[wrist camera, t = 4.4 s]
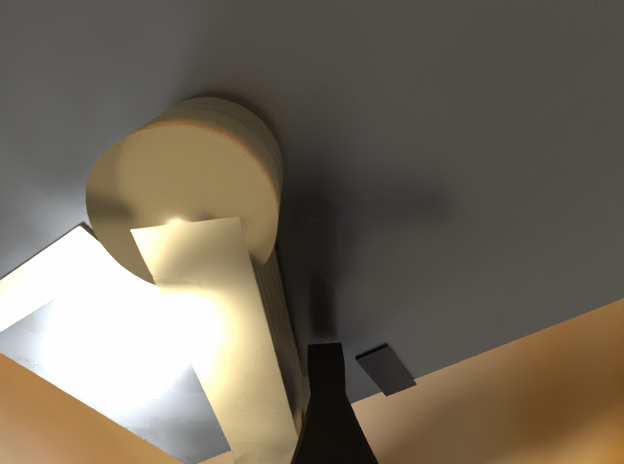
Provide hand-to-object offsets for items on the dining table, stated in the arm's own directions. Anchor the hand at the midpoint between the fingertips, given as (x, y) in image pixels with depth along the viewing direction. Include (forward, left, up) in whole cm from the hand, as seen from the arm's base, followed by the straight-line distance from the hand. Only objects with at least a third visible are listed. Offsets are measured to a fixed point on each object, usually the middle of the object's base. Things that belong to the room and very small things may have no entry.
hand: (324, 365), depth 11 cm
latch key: (0, +3, -1) cm, 3 cm away
